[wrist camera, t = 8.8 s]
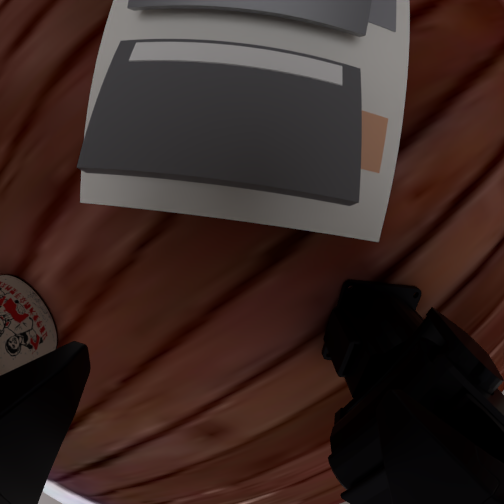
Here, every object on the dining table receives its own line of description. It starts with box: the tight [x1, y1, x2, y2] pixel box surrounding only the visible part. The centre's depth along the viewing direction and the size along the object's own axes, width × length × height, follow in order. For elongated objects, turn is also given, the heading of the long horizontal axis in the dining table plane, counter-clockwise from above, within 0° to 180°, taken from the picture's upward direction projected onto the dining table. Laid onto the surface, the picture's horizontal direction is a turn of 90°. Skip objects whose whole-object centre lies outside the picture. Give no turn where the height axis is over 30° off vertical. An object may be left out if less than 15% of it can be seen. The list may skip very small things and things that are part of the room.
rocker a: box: [77, 39, 362, 206], centre depth 12 cm, size 12×7×1 cm, turn 81°
